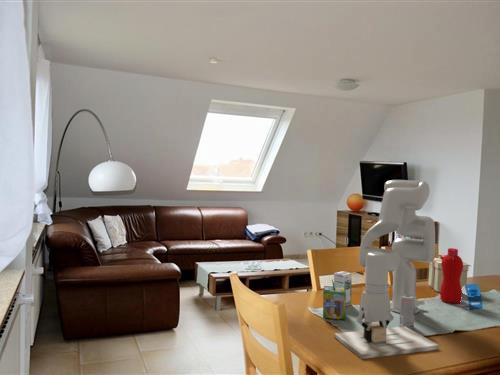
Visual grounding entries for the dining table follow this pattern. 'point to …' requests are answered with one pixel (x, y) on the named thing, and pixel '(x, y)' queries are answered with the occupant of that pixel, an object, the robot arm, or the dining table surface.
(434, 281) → the gift box
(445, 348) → the dining table surface
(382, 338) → the block
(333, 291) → the chalk box
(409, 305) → the energy drink
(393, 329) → the board
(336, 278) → the syrup box
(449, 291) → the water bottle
